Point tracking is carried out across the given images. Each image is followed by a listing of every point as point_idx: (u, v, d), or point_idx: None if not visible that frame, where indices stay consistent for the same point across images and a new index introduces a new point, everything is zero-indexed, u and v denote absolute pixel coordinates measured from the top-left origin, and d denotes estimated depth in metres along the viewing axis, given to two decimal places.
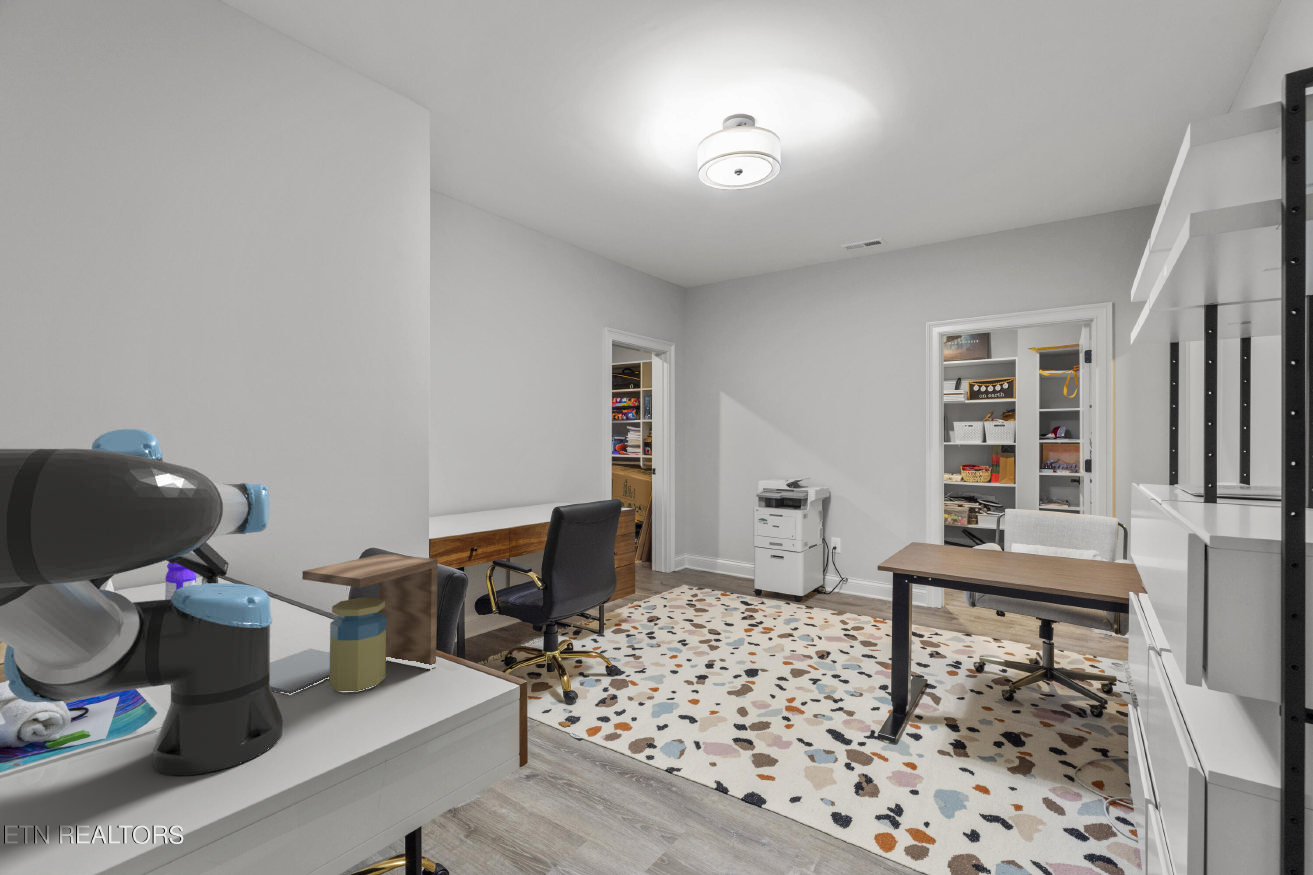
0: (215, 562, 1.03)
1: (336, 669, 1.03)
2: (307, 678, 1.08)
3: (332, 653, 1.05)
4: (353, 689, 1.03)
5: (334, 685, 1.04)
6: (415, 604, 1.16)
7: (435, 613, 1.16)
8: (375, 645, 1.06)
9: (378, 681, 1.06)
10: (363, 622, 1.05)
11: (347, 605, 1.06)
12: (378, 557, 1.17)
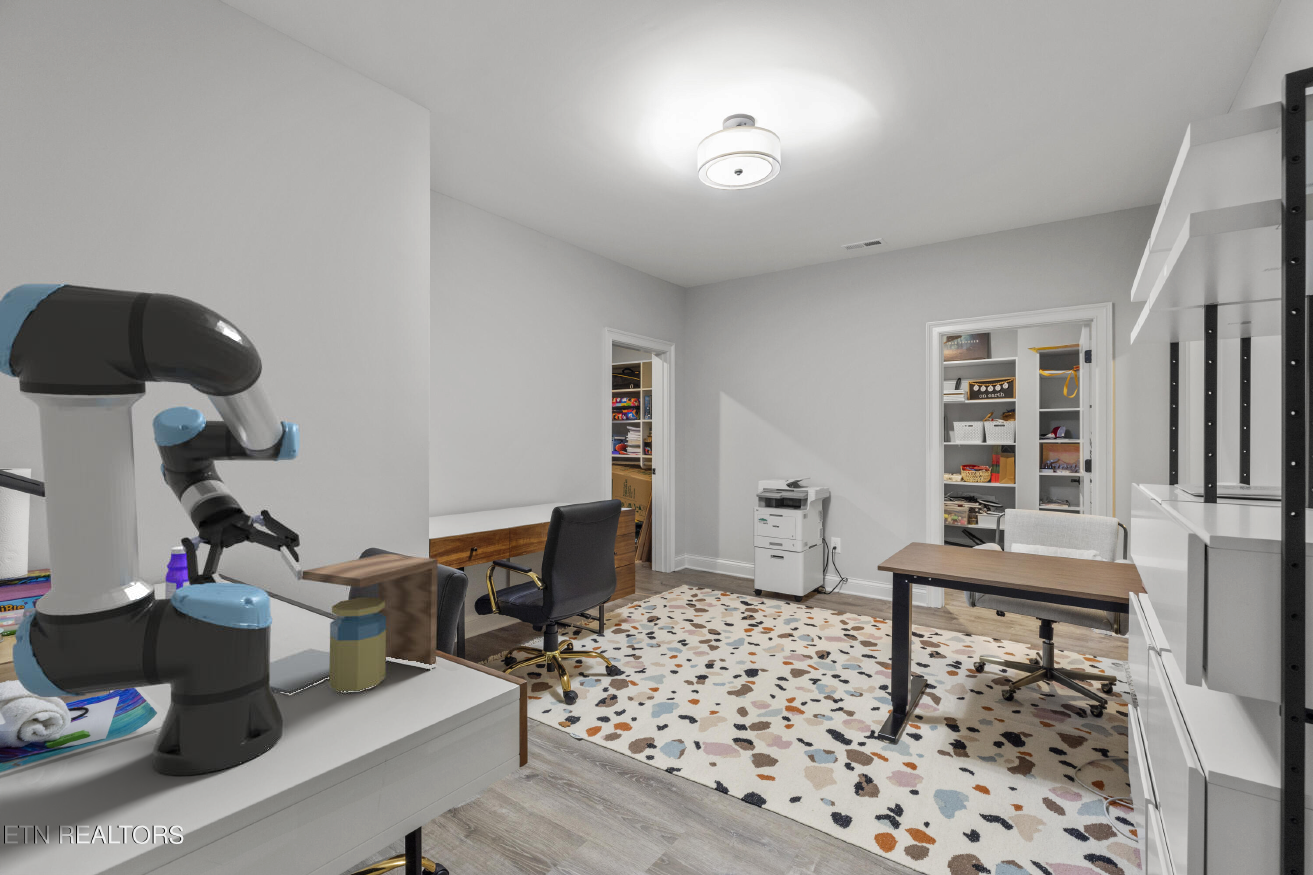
0: None
1: (335, 669, 1.03)
2: (307, 678, 1.08)
3: (332, 653, 1.05)
4: (353, 689, 1.03)
5: (333, 685, 1.04)
6: (415, 604, 1.16)
7: (435, 613, 1.16)
8: (375, 645, 1.05)
9: (378, 681, 1.06)
10: (363, 622, 1.04)
11: (347, 605, 1.06)
12: (378, 557, 1.17)
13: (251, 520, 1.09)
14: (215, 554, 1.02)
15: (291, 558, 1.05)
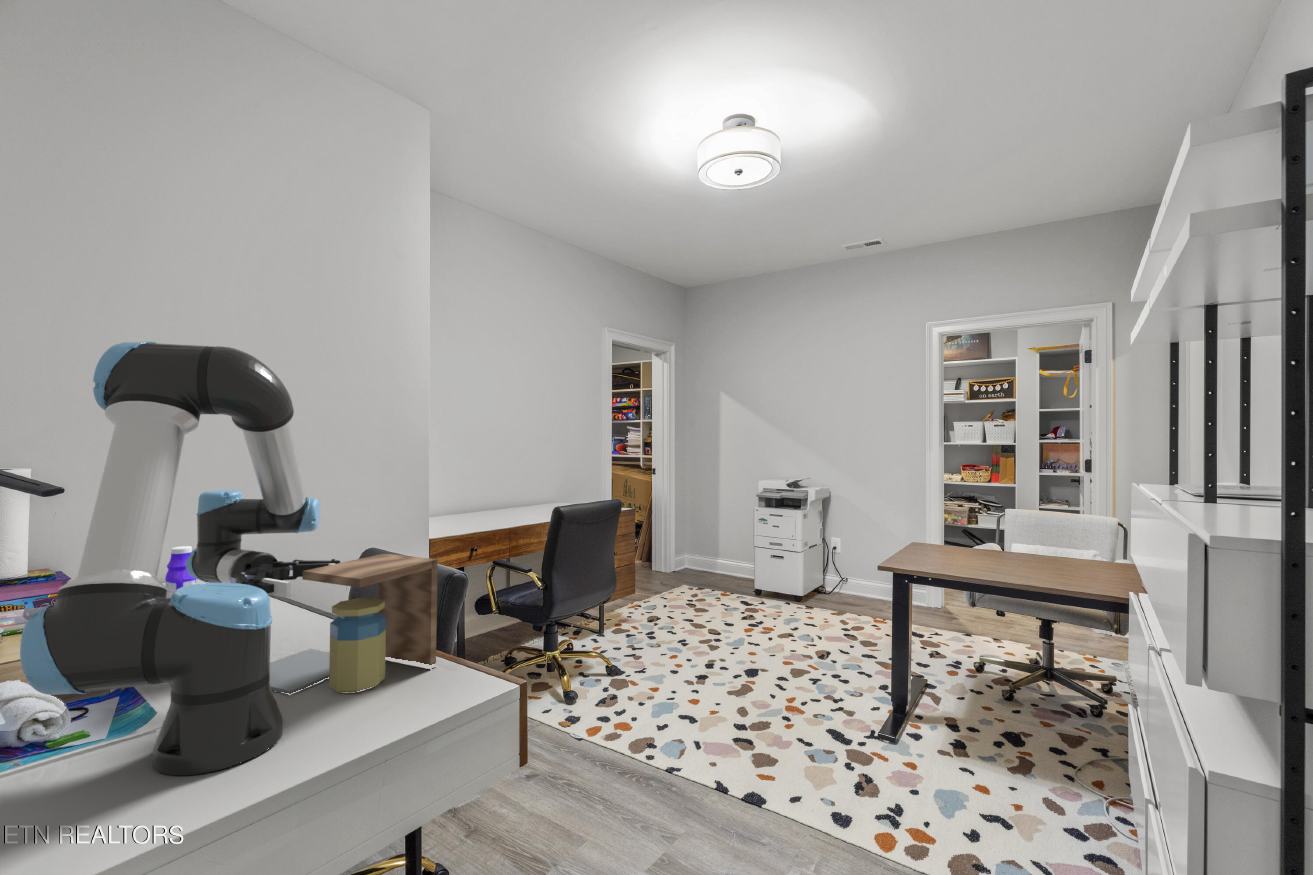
0: None
1: (335, 670, 1.03)
2: (307, 678, 1.08)
3: (332, 653, 1.04)
4: (353, 689, 1.03)
5: (333, 685, 1.04)
6: (415, 604, 1.16)
7: (435, 613, 1.16)
8: (375, 645, 1.05)
9: (378, 681, 1.06)
10: (363, 622, 1.04)
11: (347, 605, 1.06)
12: (378, 557, 1.17)
13: None
14: (263, 574, 1.12)
15: None
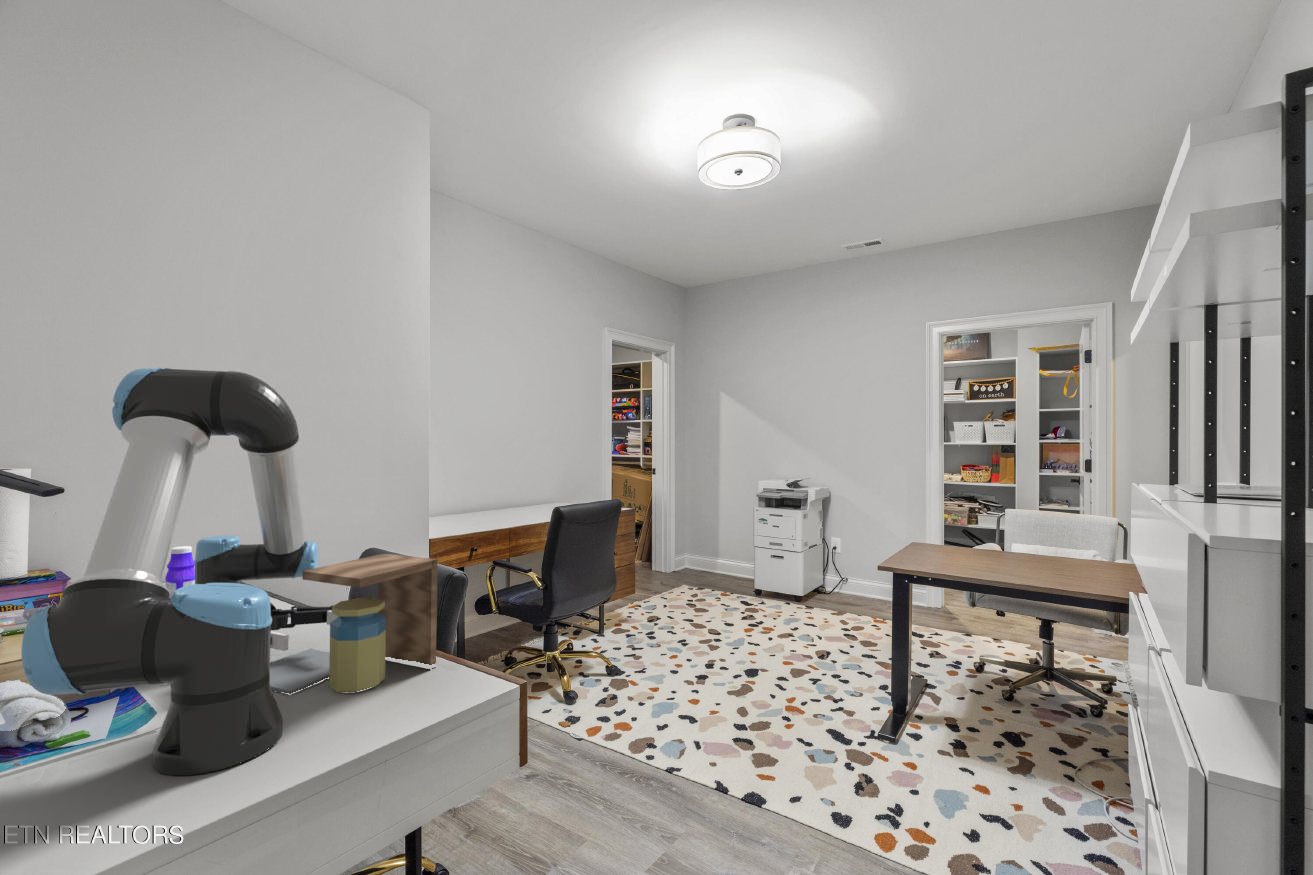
0: None
1: (335, 670, 1.03)
2: (307, 678, 1.08)
3: (332, 653, 1.04)
4: (353, 689, 1.03)
5: (333, 685, 1.04)
6: (415, 604, 1.16)
7: (435, 613, 1.16)
8: (375, 645, 1.05)
9: (378, 681, 1.06)
10: (363, 622, 1.04)
11: (347, 605, 1.06)
12: (378, 557, 1.17)
13: None
14: None
15: None
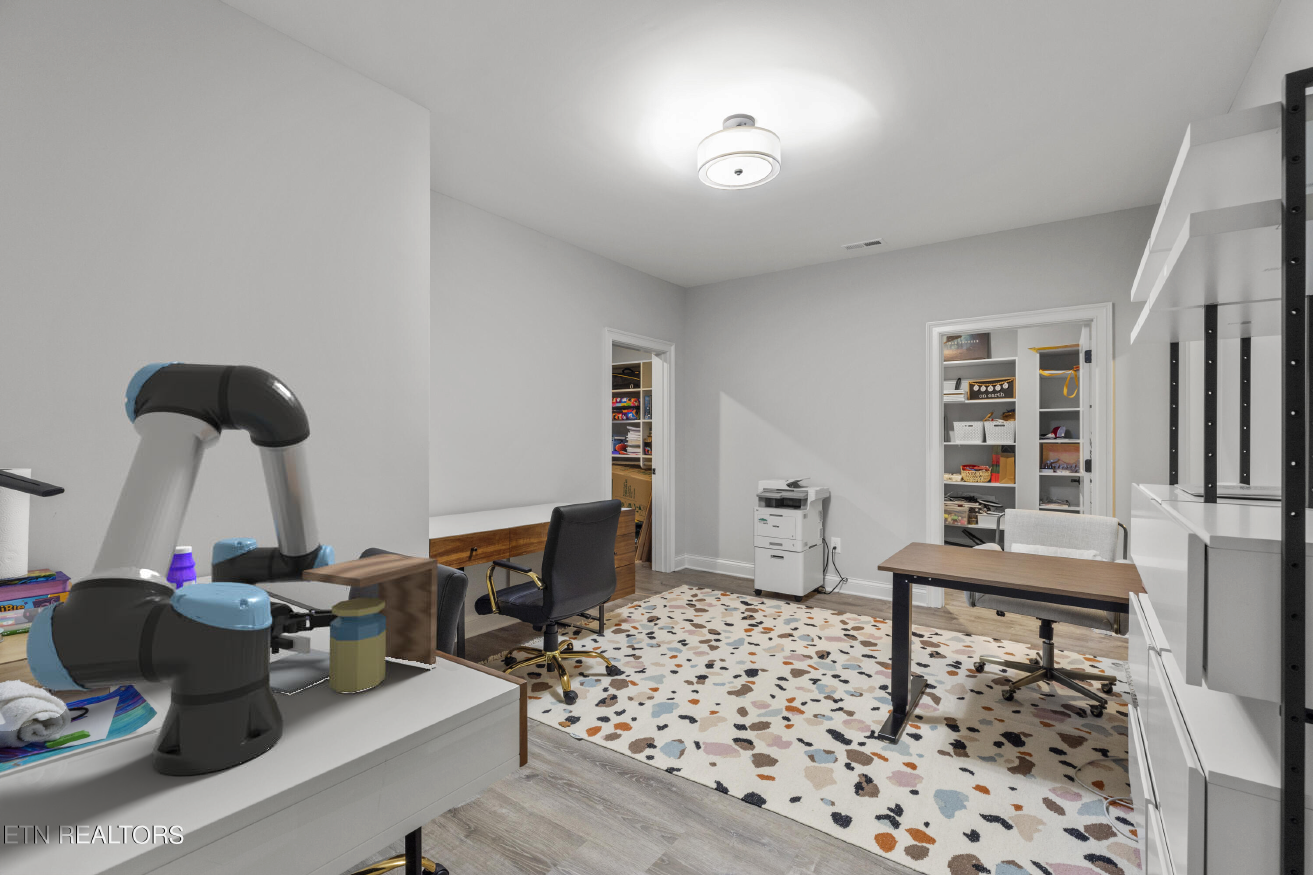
0: None
1: (335, 670, 1.03)
2: (307, 678, 1.08)
3: (332, 653, 1.04)
4: (353, 689, 1.03)
5: (333, 685, 1.04)
6: (415, 604, 1.16)
7: (435, 613, 1.16)
8: (374, 645, 1.05)
9: (378, 681, 1.06)
10: (363, 622, 1.04)
11: (347, 605, 1.06)
12: (378, 557, 1.17)
13: None
14: (280, 628, 1.10)
15: None
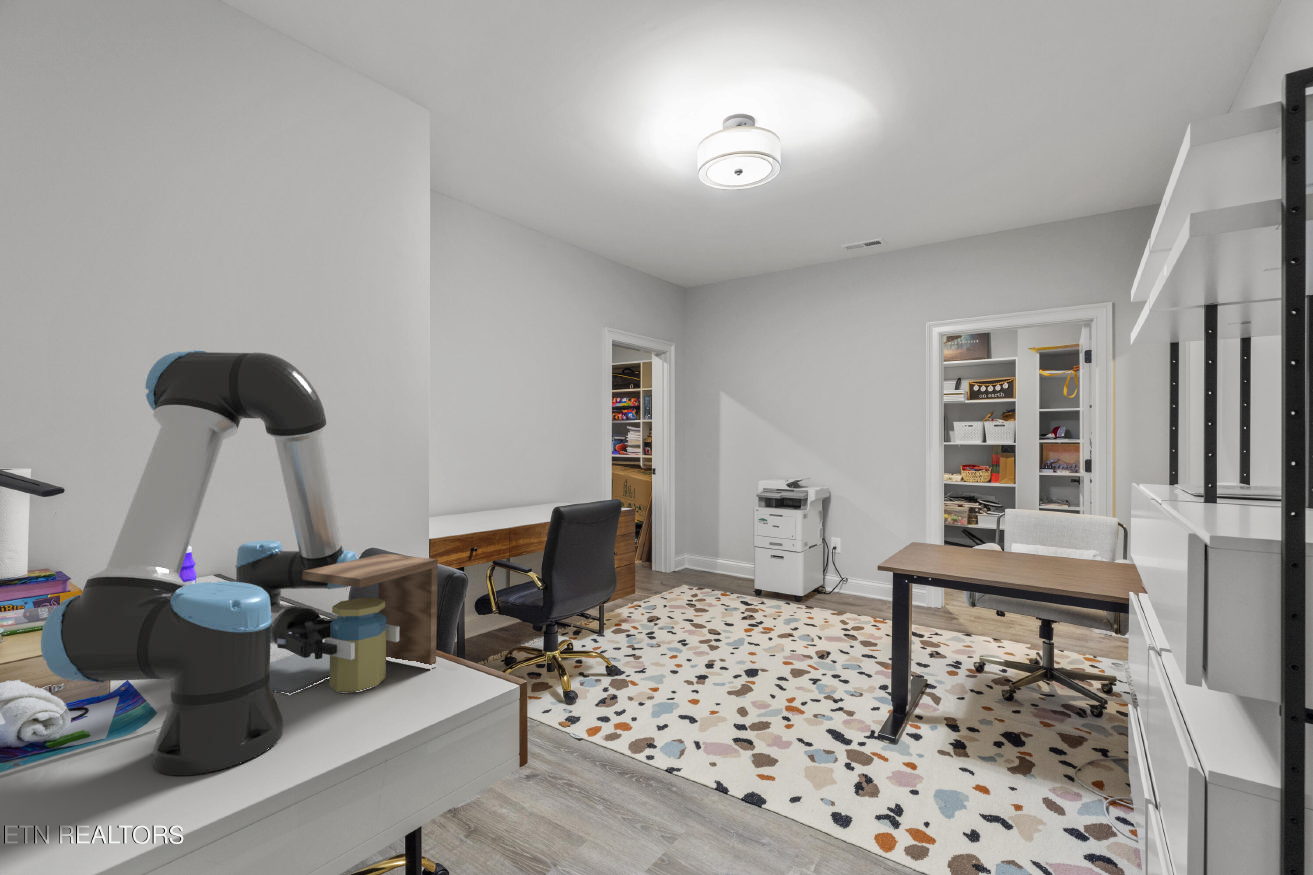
0: None
1: (336, 669, 1.03)
2: (307, 678, 1.08)
3: None
4: (353, 689, 1.03)
5: (334, 685, 1.04)
6: (415, 604, 1.16)
7: (435, 613, 1.16)
8: (375, 645, 1.05)
9: (378, 681, 1.06)
10: (363, 622, 1.04)
11: (347, 605, 1.06)
12: (378, 557, 1.17)
13: None
14: (316, 633, 1.06)
15: None
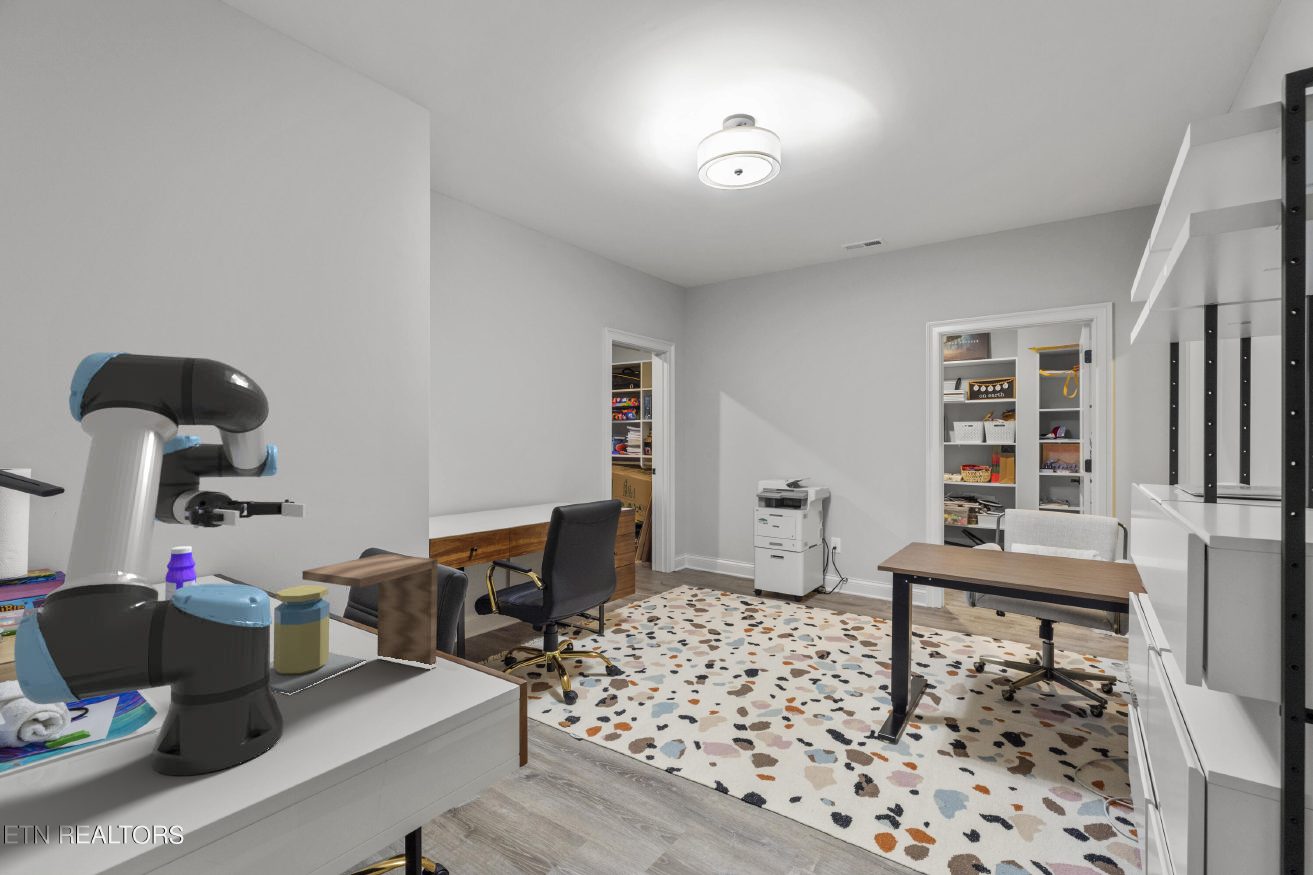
0: None
1: (278, 652, 1.09)
2: (307, 678, 1.08)
3: (276, 637, 1.10)
4: (295, 671, 1.09)
5: (277, 667, 1.10)
6: (415, 604, 1.16)
7: (435, 613, 1.16)
8: (317, 629, 1.11)
9: (320, 664, 1.12)
10: (305, 607, 1.10)
11: (291, 592, 1.12)
12: (378, 557, 1.17)
13: None
14: (215, 508, 1.16)
15: (294, 503, 1.24)
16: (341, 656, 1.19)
